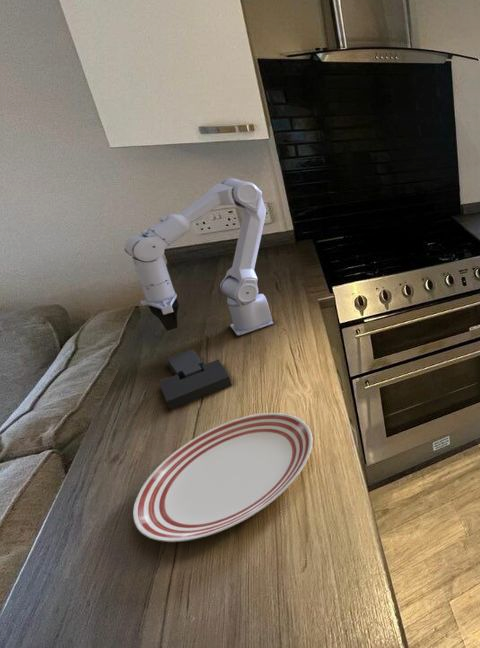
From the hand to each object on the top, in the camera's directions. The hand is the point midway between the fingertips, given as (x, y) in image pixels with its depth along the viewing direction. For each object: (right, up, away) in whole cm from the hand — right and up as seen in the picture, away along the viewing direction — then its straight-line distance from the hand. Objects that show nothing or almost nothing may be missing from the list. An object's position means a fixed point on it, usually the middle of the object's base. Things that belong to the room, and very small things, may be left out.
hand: (171, 327), depth 114 cm
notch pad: (+14, -13, -9) cm, 21 cm away
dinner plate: (+39, -22, -33) cm, 56 cm away
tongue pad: (+7, -10, -3) cm, 13 cm away
